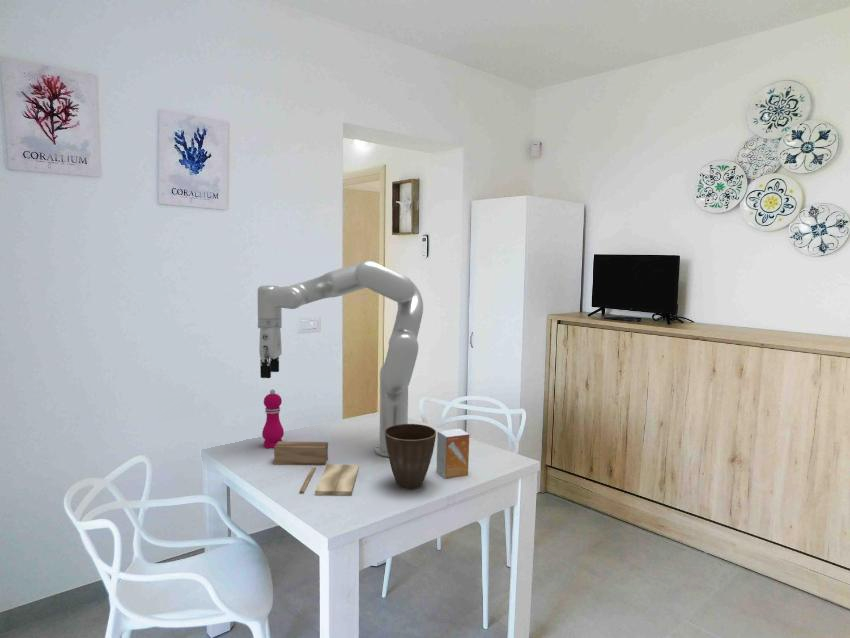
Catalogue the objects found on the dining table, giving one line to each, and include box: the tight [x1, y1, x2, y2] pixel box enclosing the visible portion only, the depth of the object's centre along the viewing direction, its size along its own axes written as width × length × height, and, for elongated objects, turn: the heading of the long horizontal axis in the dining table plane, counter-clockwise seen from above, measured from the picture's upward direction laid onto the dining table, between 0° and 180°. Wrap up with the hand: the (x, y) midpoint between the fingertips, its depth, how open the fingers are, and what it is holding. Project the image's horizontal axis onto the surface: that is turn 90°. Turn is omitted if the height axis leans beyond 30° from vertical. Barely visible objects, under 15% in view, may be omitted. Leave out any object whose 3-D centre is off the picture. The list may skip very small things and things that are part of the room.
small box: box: [436, 428, 470, 479], centre depth 169 cm, size 8×6×13 cm
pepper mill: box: [261, 389, 285, 449], centre depth 191 cm, size 7×7×20 cm
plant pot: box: [385, 423, 437, 490], centre depth 160 cm, size 15×15×16 cm
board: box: [298, 463, 360, 497], centre depth 162 cm, size 15×20×1 cm
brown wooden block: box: [273, 440, 329, 467], centre depth 177 cm, size 6×16×6 cm, turn 91°
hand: (270, 374), depth 182 cm, fingers open, 9 cm apart
